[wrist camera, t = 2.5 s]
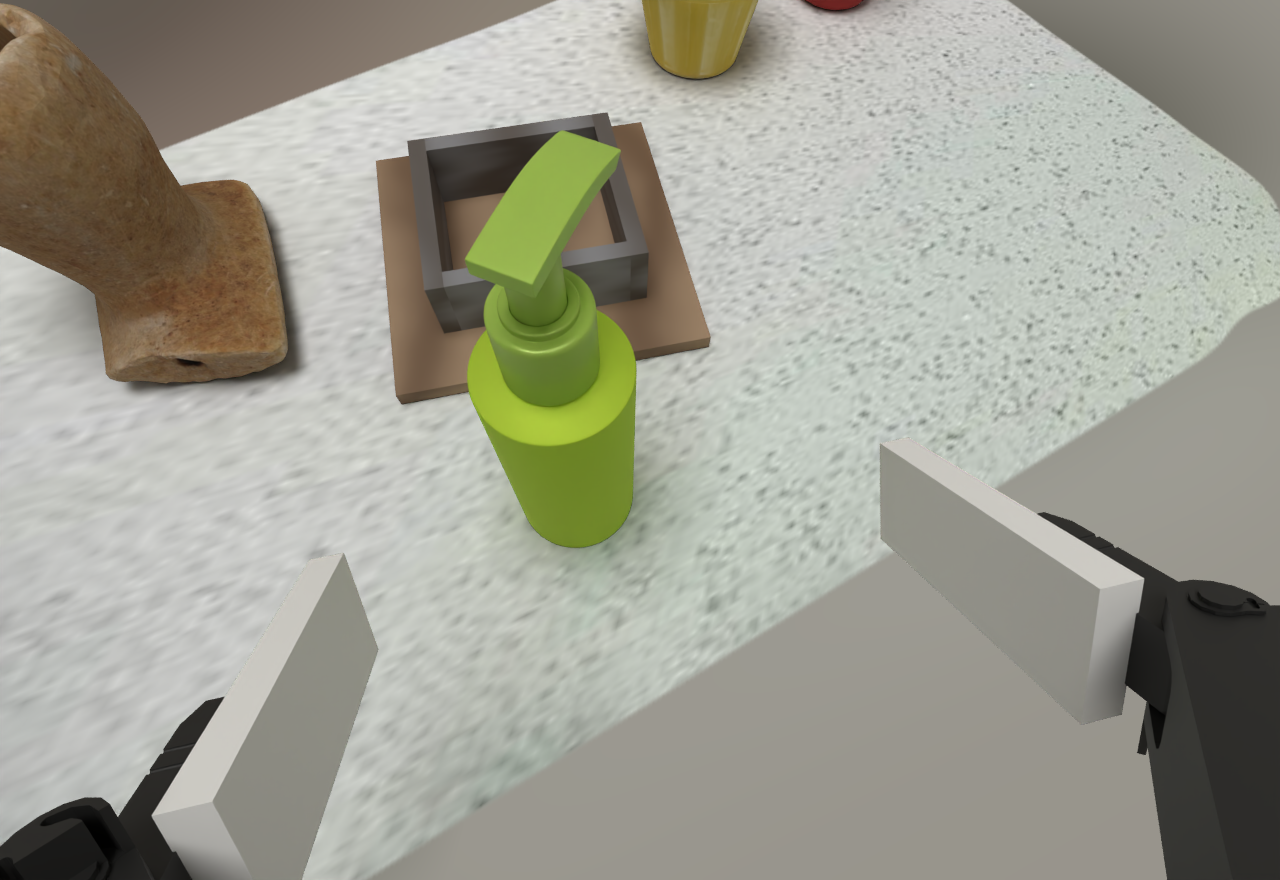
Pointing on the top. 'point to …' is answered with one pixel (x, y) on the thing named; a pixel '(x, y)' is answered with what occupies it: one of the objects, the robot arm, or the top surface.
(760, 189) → the top surface
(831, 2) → the smoothie
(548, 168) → the soap dispenser
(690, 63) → the plant pot
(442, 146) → the dispenser stand
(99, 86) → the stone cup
